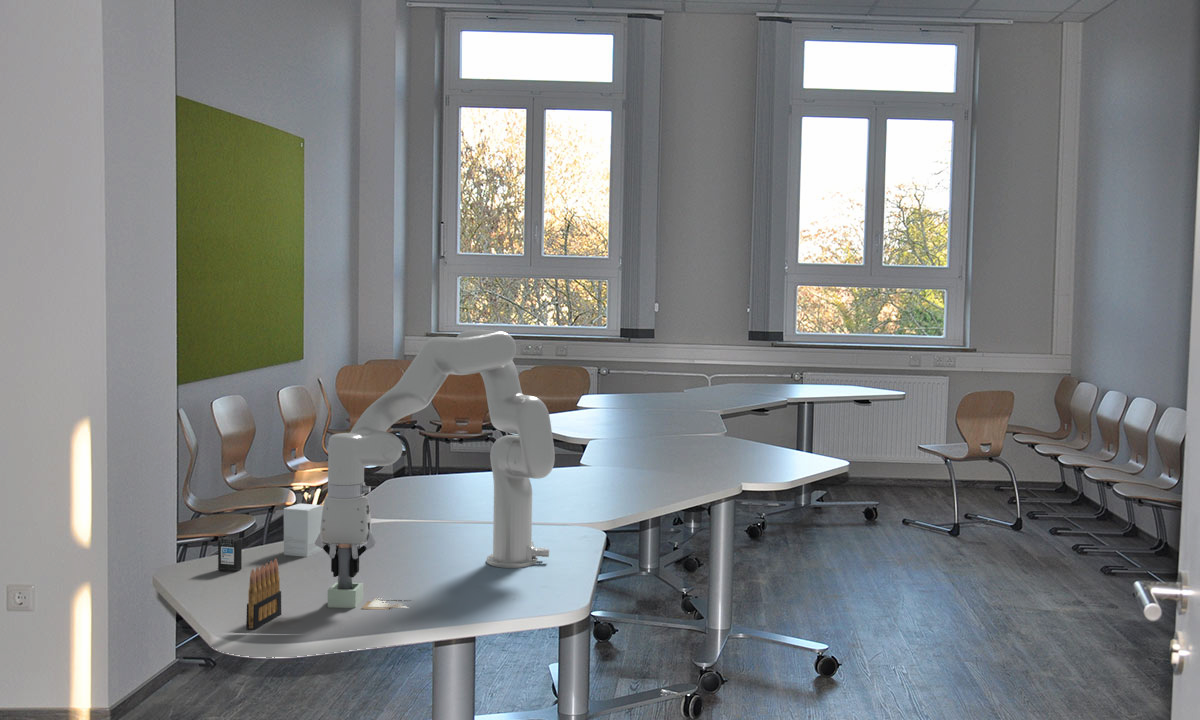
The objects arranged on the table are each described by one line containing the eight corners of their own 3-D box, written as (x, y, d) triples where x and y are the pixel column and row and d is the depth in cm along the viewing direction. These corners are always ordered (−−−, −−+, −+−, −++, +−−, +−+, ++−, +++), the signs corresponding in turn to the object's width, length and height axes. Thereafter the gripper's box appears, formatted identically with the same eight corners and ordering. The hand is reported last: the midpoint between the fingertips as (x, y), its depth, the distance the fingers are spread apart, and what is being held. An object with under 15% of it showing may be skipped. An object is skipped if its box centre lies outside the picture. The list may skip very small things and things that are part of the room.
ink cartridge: (217, 571, 246) (217, 538, 246) (222, 568, 249) (222, 536, 248) (236, 572, 245) (236, 539, 245) (241, 570, 248) (241, 537, 247)
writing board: (442, 596, 228) (442, 593, 228) (431, 612, 216) (431, 609, 216) (375, 594, 229) (375, 591, 229) (361, 610, 217) (361, 607, 217)
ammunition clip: (273, 613, 214) (273, 557, 213) (281, 614, 213) (281, 557, 213) (245, 629, 203) (246, 569, 203) (254, 630, 203) (254, 570, 202)
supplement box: (324, 553, 266) (324, 504, 265) (307, 559, 259) (307, 510, 258) (300, 550, 268) (300, 502, 268) (282, 556, 261) (282, 507, 261)
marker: (354, 590, 222) (354, 535, 221) (350, 594, 219) (350, 538, 218) (339, 589, 222) (340, 535, 222) (335, 593, 219) (335, 538, 218)
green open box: (363, 601, 224) (363, 583, 224) (355, 609, 218) (355, 590, 218) (335, 600, 224) (335, 582, 224) (327, 608, 218) (327, 589, 218)
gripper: (387, 489, 223) (386, 572, 224) (313, 487, 224) (313, 570, 224) (379, 495, 216) (378, 581, 216) (302, 493, 216) (302, 579, 217)
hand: (345, 574), depth 220 cm, fingers closed on marker, 3 cm apart
